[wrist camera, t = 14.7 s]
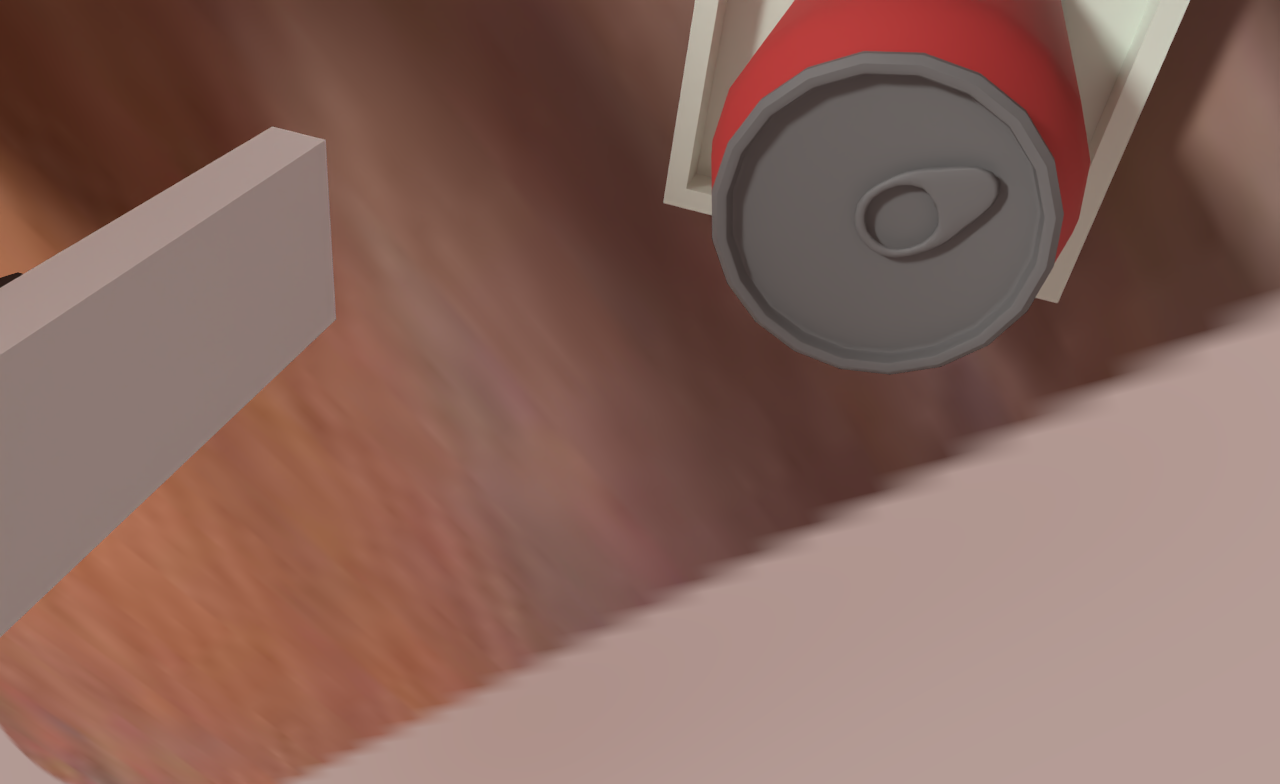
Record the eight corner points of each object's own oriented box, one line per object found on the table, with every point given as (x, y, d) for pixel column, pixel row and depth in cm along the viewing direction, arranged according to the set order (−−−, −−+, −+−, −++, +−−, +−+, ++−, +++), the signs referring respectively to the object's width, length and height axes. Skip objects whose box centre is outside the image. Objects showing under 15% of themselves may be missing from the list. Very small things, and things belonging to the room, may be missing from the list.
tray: (679, 180, 31) (662, 202, 29) (751, -256, 24) (735, -254, 23) (1055, 274, 29) (1057, 303, 27) (1244, -170, 22) (1260, -162, 21)
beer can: (1099, 104, 25) (1156, 336, 16) (855, 200, 29) (780, 441, 19) (1009, -158, 23) (1013, -69, 13) (753, -21, 26) (610, 128, 17)
